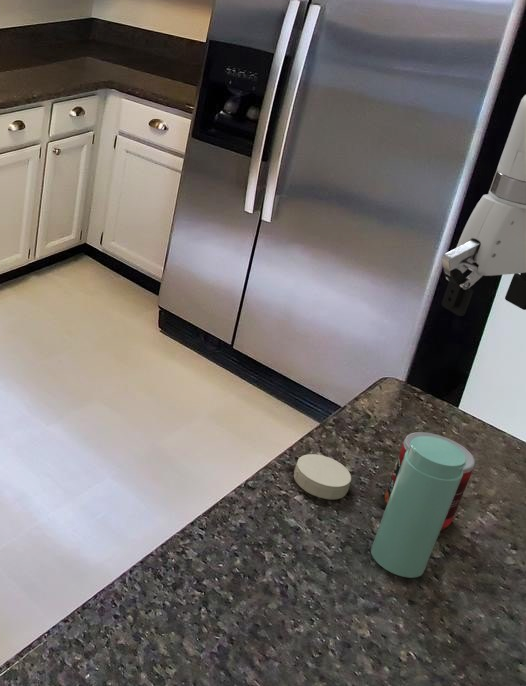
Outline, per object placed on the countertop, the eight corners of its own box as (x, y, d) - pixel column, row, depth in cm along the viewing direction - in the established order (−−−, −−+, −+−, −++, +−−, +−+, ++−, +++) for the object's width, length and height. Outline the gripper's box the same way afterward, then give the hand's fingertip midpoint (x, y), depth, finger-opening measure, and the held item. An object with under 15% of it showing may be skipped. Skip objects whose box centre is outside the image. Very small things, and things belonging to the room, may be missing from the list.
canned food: (382, 485, 116) (404, 424, 112) (448, 505, 112) (473, 443, 108) (382, 518, 110) (404, 456, 106) (451, 541, 107) (478, 477, 102)
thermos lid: (314, 502, 113) (317, 489, 112) (283, 469, 119) (287, 456, 118) (358, 496, 114) (362, 483, 113) (325, 464, 120) (329, 451, 119)
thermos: (409, 543, 106) (451, 436, 99) (433, 580, 101) (479, 469, 93) (362, 540, 107) (400, 432, 99) (383, 576, 101) (425, 465, 94)
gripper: (560, 174, 104) (516, 289, 111) (443, 182, 102) (405, 299, 109) (618, 196, 97) (566, 316, 105) (493, 204, 95) (449, 327, 102)
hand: (484, 307), depth 107 cm, fingers open, 9 cm apart
